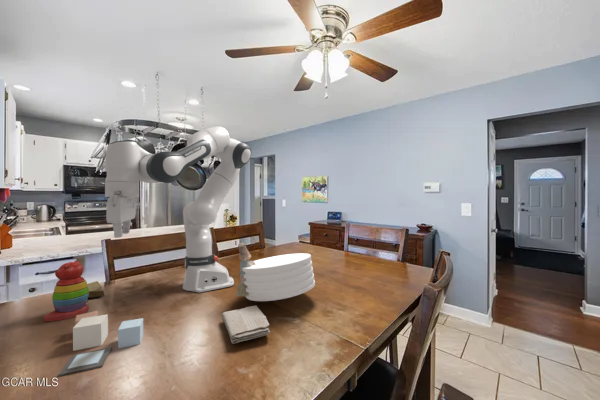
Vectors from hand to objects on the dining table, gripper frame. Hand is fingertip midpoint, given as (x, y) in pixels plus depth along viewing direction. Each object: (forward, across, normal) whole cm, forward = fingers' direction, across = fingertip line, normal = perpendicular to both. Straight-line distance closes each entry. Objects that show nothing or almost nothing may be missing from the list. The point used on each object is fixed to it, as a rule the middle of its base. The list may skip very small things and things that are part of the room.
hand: (122, 235), depth 80 cm
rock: (+30, +29, +14) cm, 44 cm away
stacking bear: (+28, +16, +18) cm, 37 cm away
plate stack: (+24, +1, -53) cm, 59 cm away
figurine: (+25, +2, -41) cm, 48 cm away
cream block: (+28, -9, +5) cm, 30 cm away
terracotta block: (+28, -2, +8) cm, 29 cm away
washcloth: (+28, -16, -36) cm, 48 cm away
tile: (+28, -19, +3) cm, 34 cm away
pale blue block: (+28, -13, -5) cm, 31 cm away
